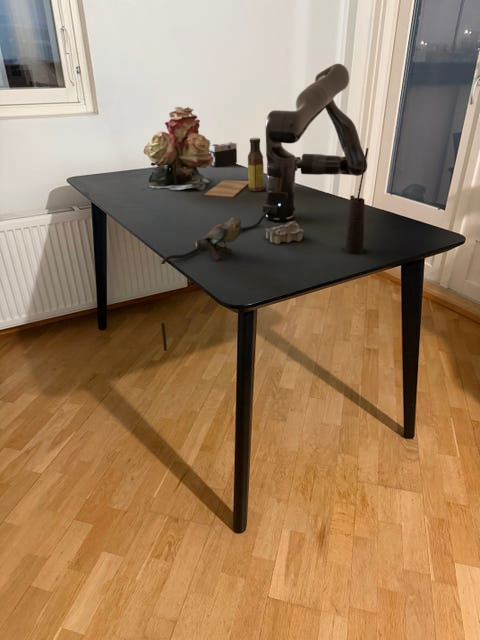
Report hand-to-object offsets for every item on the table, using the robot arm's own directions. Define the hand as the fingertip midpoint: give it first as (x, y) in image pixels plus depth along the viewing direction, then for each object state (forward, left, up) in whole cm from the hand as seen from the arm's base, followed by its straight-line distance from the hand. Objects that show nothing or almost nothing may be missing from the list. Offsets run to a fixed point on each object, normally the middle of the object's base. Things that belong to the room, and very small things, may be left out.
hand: (272, 162), depth 182 cm
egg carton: (-53, -16, -11) cm, 56 cm away
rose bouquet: (+1, +39, -11) cm, 40 cm away
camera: (+43, +36, -11) cm, 58 cm away
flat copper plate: (-2, +18, -11) cm, 21 cm away
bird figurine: (-71, -1, -11) cm, 72 cm away
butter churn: (-56, -36, -11) cm, 67 cm away
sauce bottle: (-1, +7, -11) cm, 13 cm away
